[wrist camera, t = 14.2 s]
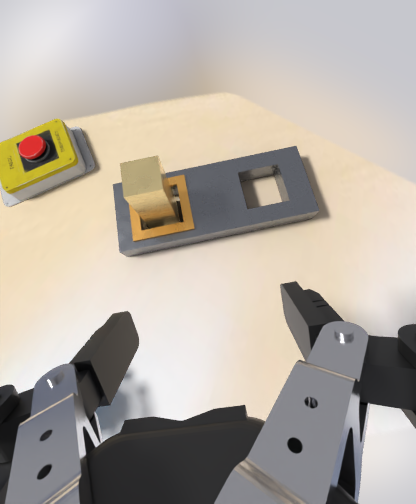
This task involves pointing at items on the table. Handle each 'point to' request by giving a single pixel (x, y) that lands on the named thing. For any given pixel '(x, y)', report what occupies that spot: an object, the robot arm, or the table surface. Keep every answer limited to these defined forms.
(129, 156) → the table surface
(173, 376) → the table surface
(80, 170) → the emergency button
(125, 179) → the brass peg
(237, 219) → the peg board
